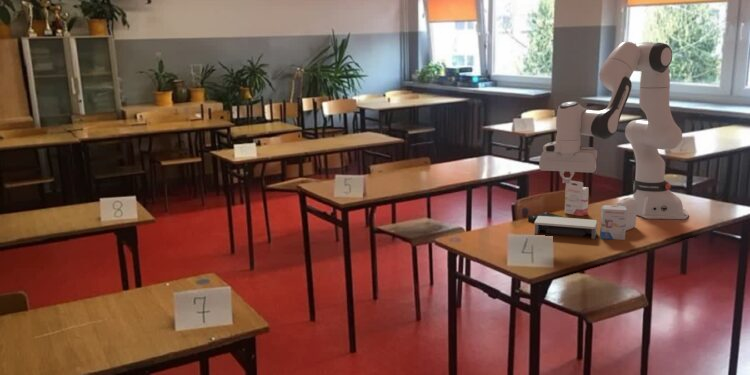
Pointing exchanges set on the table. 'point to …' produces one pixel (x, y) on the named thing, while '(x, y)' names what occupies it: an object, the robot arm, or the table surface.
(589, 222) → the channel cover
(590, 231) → the cable channel
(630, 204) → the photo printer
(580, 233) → the dark grey bar
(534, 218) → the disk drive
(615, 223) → the ink box
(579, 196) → the ink cartridge box
